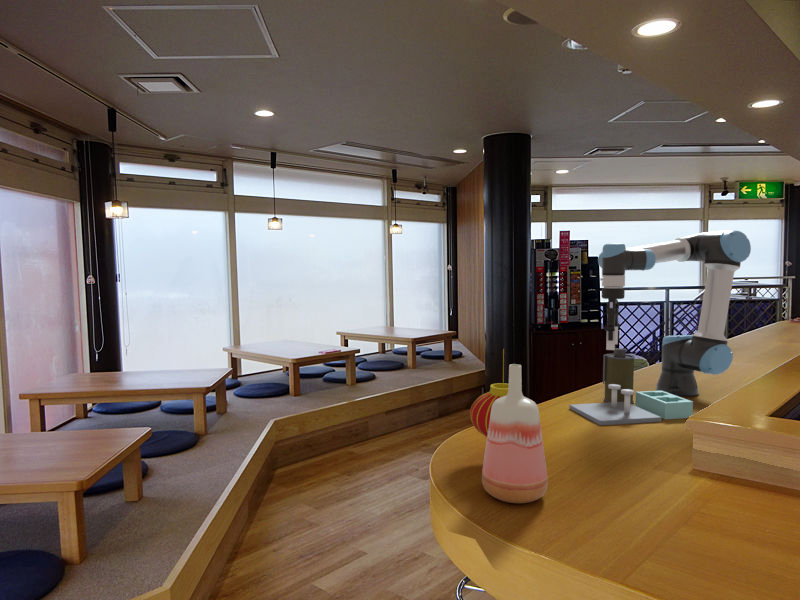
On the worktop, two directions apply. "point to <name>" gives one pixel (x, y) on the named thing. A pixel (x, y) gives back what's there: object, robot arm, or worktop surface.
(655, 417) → the board
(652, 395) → the teal breeze block
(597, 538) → the worktop surface
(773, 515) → the worktop surface
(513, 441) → the vase
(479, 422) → the lantern
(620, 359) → the canister
